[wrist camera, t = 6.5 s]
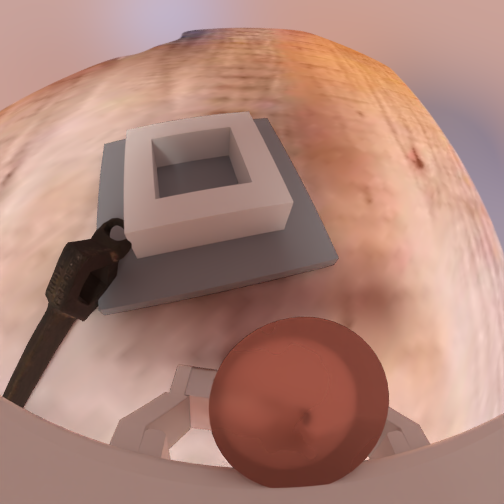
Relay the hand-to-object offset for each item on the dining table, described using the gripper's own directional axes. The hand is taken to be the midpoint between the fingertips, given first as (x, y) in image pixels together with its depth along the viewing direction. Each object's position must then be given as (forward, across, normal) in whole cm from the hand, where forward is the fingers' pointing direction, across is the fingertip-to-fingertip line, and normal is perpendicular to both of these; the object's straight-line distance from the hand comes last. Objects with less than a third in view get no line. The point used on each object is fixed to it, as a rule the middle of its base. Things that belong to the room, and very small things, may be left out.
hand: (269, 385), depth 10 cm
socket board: (+14, +5, -5) cm, 16 cm away
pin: (+4, 0, +5) cm, 6 cm away
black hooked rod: (+2, +17, +7) cm, 19 cm away
